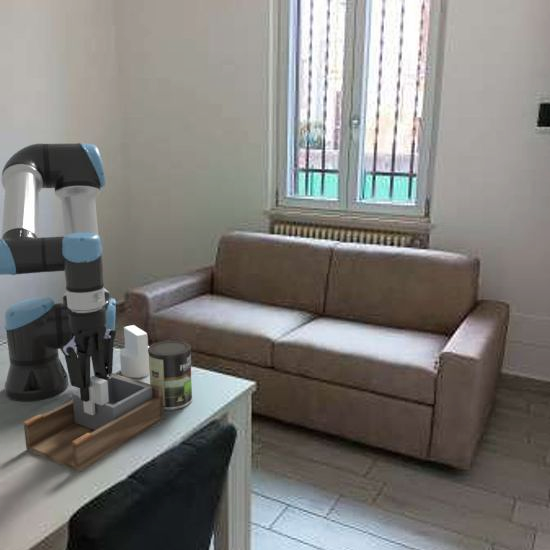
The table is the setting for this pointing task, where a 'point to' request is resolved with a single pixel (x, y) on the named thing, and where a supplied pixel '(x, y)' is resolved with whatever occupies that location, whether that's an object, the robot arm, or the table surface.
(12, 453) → the table surface
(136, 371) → the base with upright slab
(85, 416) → the box
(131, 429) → the bay
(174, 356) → the coffee can
